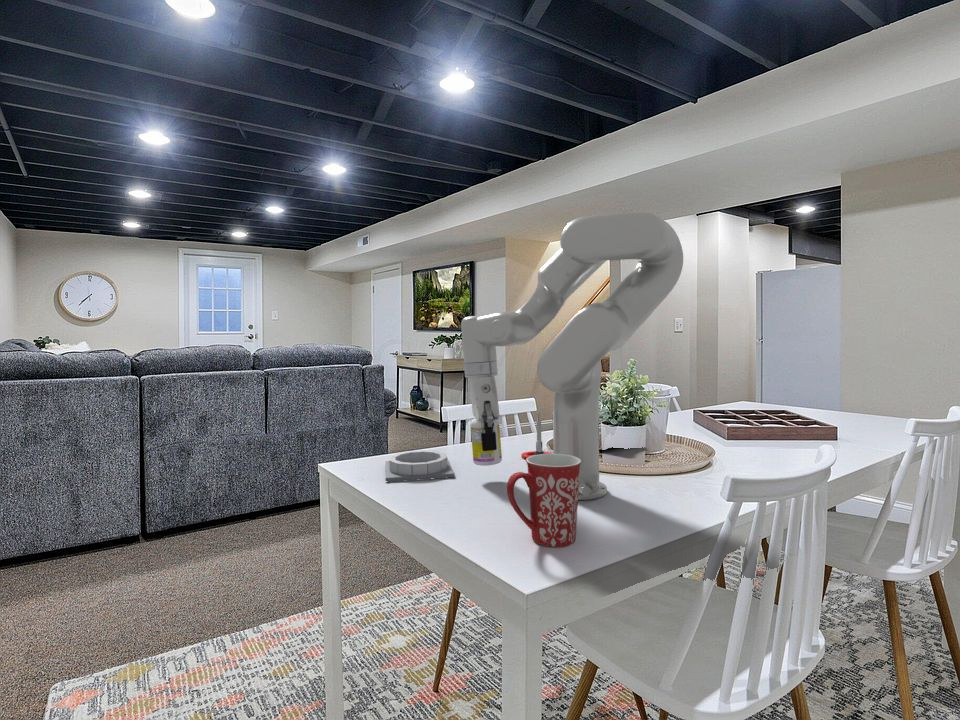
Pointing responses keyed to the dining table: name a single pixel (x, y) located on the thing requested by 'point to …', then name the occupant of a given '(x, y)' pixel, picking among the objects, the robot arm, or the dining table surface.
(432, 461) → the ring block
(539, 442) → the tow hook
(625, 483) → the dining table surface
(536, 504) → the mug
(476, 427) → the supplement bottle
